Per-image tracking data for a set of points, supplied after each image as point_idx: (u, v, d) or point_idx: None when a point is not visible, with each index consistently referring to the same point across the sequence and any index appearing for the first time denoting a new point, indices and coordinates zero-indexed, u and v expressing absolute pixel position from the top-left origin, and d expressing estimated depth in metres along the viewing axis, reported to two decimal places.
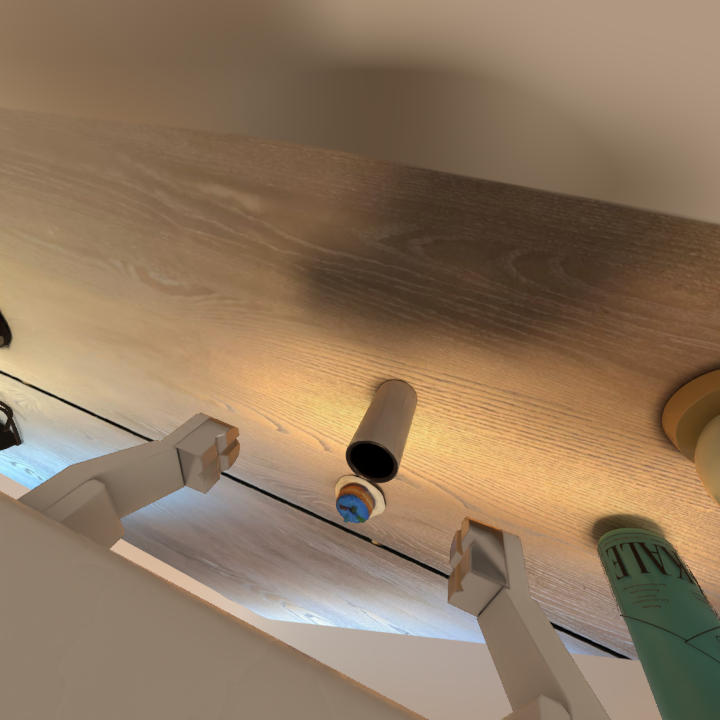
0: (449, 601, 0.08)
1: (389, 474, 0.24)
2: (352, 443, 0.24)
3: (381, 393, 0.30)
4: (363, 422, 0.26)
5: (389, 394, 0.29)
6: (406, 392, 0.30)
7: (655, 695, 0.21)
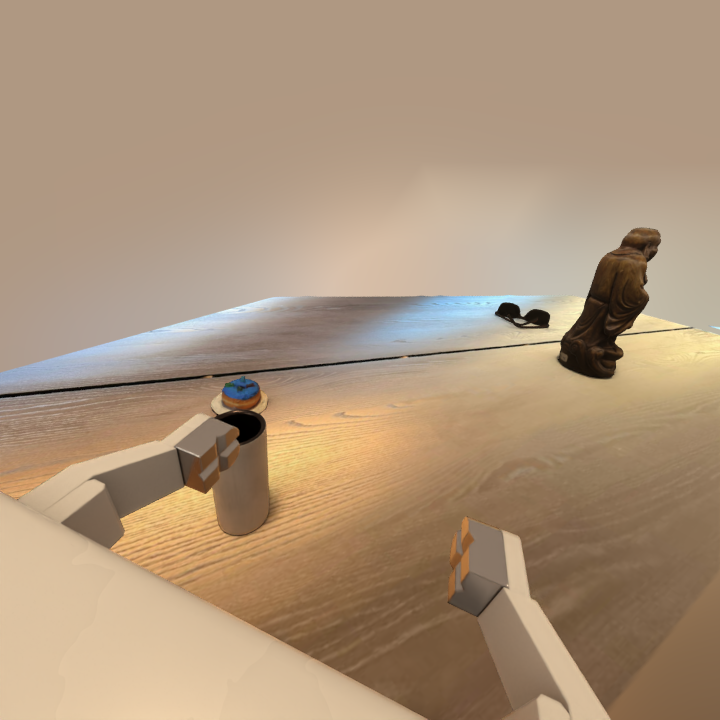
0: (449, 601, 0.08)
1: None
2: (262, 432, 0.23)
3: (262, 503, 0.26)
4: (263, 459, 0.24)
5: (252, 507, 0.25)
6: (234, 523, 0.25)
7: None
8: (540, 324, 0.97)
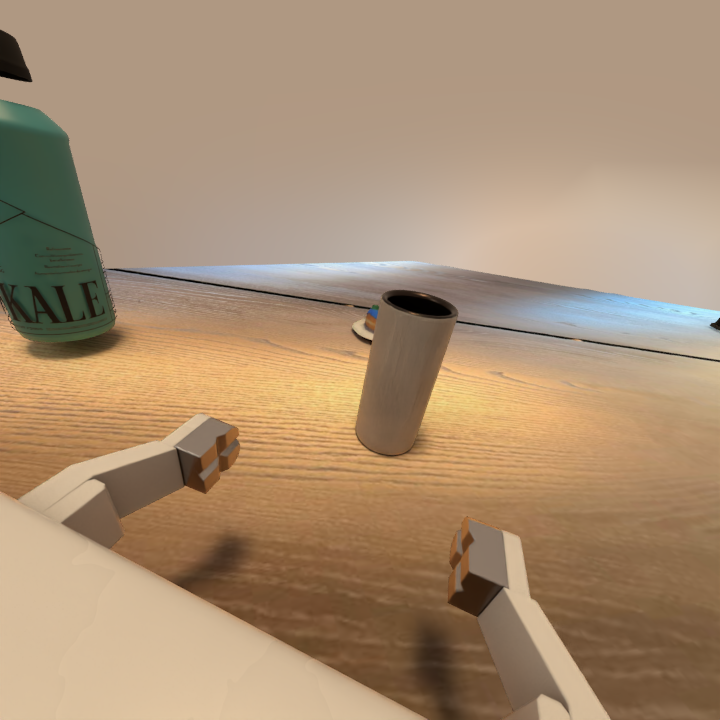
0: (449, 601, 0.08)
1: (389, 297, 0.18)
2: (456, 316, 0.16)
3: (417, 422, 0.19)
4: (441, 359, 0.18)
5: (407, 421, 0.19)
6: (379, 435, 0.19)
7: (75, 175, 0.21)
8: None
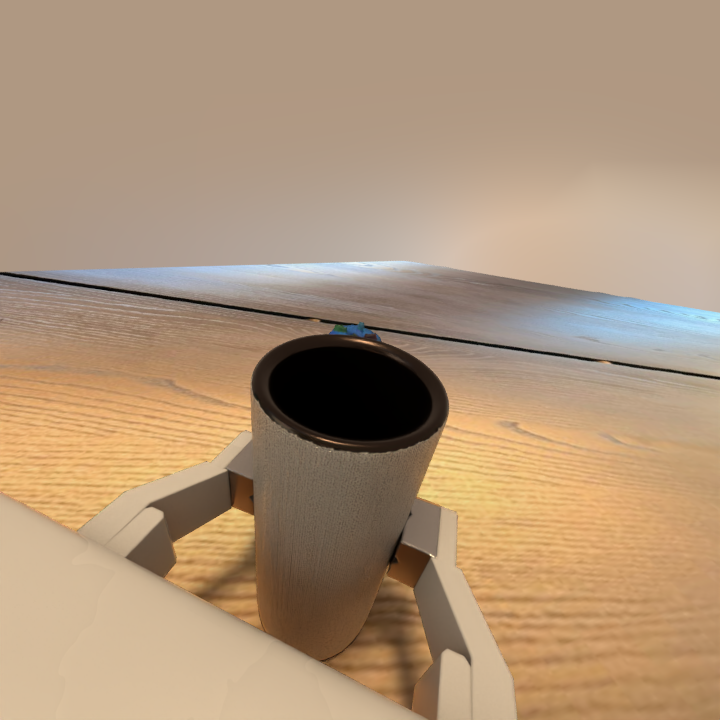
0: (388, 574, 0.09)
1: (285, 358, 0.07)
2: (443, 422, 0.06)
3: (365, 609, 0.09)
4: (410, 508, 0.07)
5: (339, 621, 0.09)
6: (285, 635, 0.09)
7: None
8: None
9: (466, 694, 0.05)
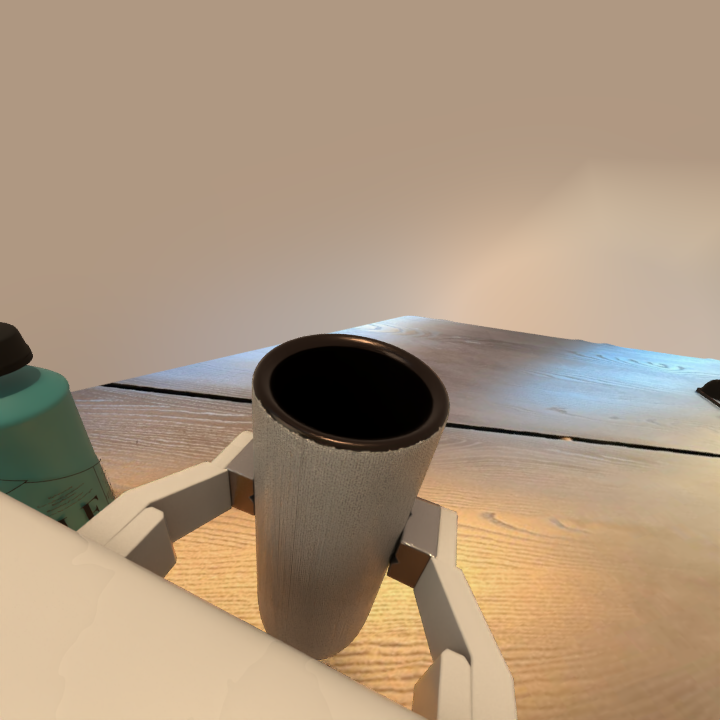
0: (388, 574, 0.09)
1: (286, 358, 0.07)
2: (444, 421, 0.06)
3: (366, 609, 0.09)
4: (410, 507, 0.07)
5: (339, 620, 0.09)
6: (286, 634, 0.09)
7: (75, 417, 0.21)
8: None
9: (466, 694, 0.05)
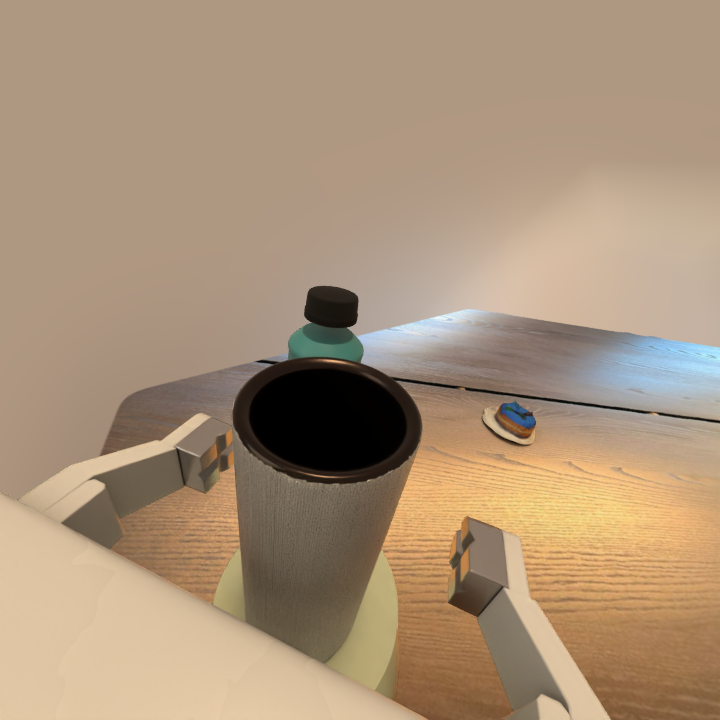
0: (449, 601, 0.08)
1: (266, 384, 0.08)
2: (414, 449, 0.06)
3: (348, 621, 0.10)
4: (387, 527, 0.08)
5: (321, 634, 0.09)
6: None
7: None
8: None
9: None
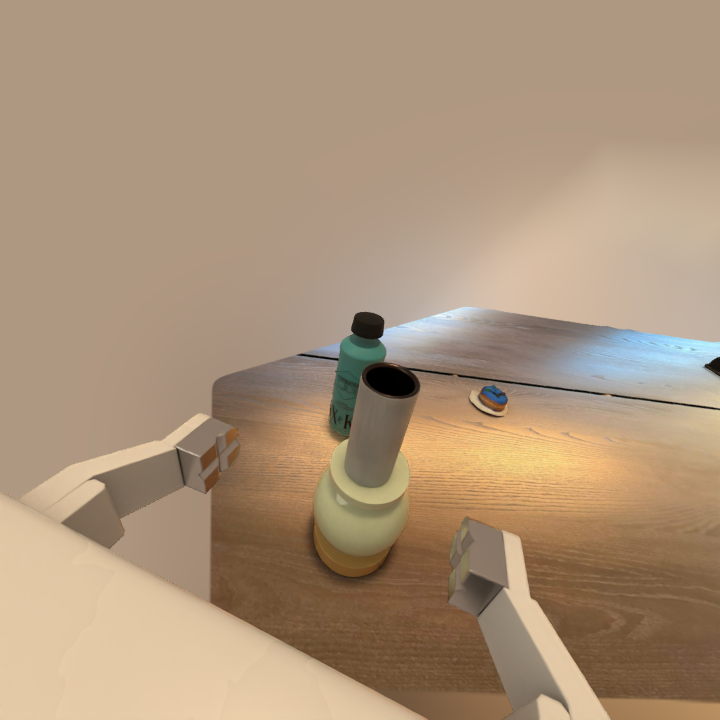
0: (449, 602, 0.08)
1: (367, 372, 0.23)
2: (417, 392, 0.21)
3: (391, 463, 0.25)
4: (408, 420, 0.23)
5: (383, 464, 0.24)
6: (362, 473, 0.25)
7: None
8: None
9: None
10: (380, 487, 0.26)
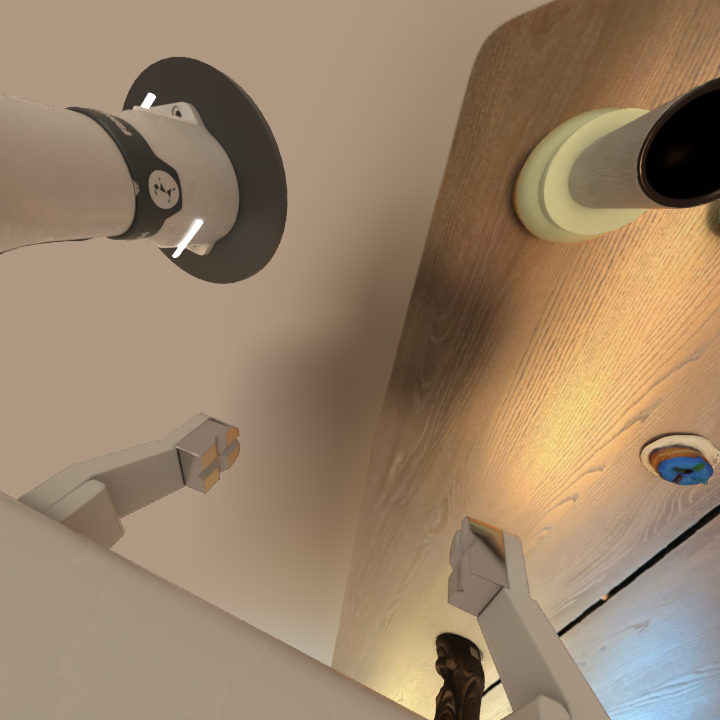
0: (449, 601, 0.08)
1: None
2: (644, 193, 0.13)
3: (581, 190, 0.19)
4: (615, 194, 0.16)
5: (583, 173, 0.19)
6: (589, 149, 0.19)
7: None
8: None
9: None
10: (566, 184, 0.22)
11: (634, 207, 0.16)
